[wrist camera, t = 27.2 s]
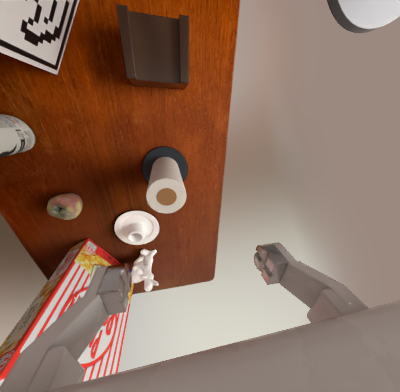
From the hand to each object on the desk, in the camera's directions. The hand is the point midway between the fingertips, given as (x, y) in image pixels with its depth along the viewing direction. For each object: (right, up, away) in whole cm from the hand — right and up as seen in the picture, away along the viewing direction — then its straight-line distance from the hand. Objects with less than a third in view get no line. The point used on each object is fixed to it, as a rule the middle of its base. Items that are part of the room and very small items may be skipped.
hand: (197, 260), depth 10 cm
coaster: (-9, +11, +29) cm, 32 cm away
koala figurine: (-17, -15, +40) cm, 46 cm away
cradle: (-8, +30, +20) cm, 36 cm away
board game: (-29, -16, +38) cm, 51 cm away
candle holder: (-18, -5, +35) cm, 40 cm away
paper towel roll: (-7, +7, +22) cm, 24 cm away
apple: (-30, +3, +28) cm, 41 cm away
